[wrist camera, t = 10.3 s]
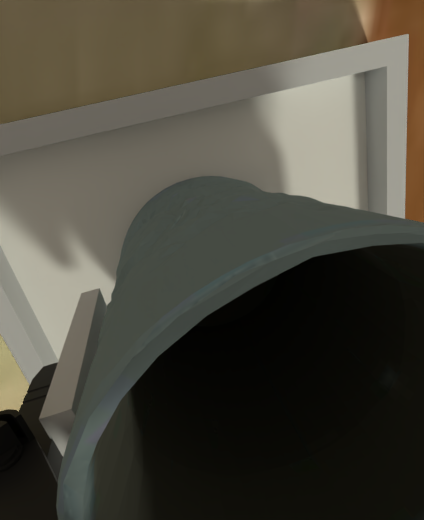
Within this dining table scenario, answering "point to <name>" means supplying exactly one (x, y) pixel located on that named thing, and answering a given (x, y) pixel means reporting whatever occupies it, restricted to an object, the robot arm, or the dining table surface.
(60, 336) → the tray
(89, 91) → the dining table surface
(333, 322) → the teal cup
